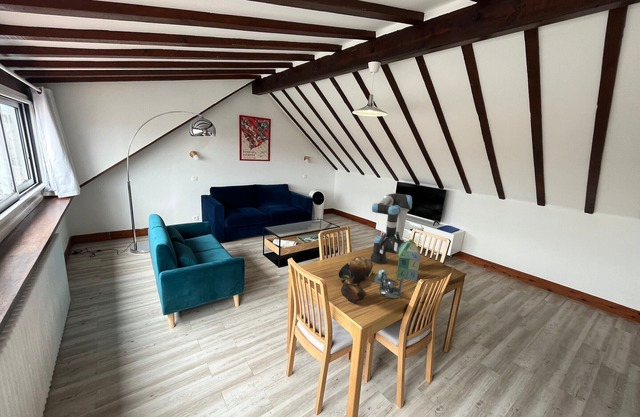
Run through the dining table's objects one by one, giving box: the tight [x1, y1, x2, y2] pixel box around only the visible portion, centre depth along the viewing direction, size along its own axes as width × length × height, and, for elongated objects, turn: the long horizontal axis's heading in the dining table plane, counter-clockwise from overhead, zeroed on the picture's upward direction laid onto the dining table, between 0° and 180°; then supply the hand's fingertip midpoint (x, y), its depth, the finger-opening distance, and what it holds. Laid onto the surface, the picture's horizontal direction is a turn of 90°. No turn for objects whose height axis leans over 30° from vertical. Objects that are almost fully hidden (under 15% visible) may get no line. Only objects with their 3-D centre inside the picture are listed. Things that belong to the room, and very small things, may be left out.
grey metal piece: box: [379, 272, 404, 300], centre depth 202 cm, size 16×16×14 cm
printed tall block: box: [396, 238, 422, 282], centre depth 228 cm, size 17×16×30 cm
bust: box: [340, 255, 374, 305], centre depth 195 cm, size 21×23×30 cm
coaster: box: [370, 274, 394, 286], centre depth 221 cm, size 13×13×1 cm
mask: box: [337, 262, 375, 281], centre depth 224 cm, size 25×6×30 cm
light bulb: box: [377, 269, 388, 283], centre depth 220 cm, size 11×7×7 cm, turn 0°
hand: (388, 251), depth 216 cm, fingers open, 13 cm apart
